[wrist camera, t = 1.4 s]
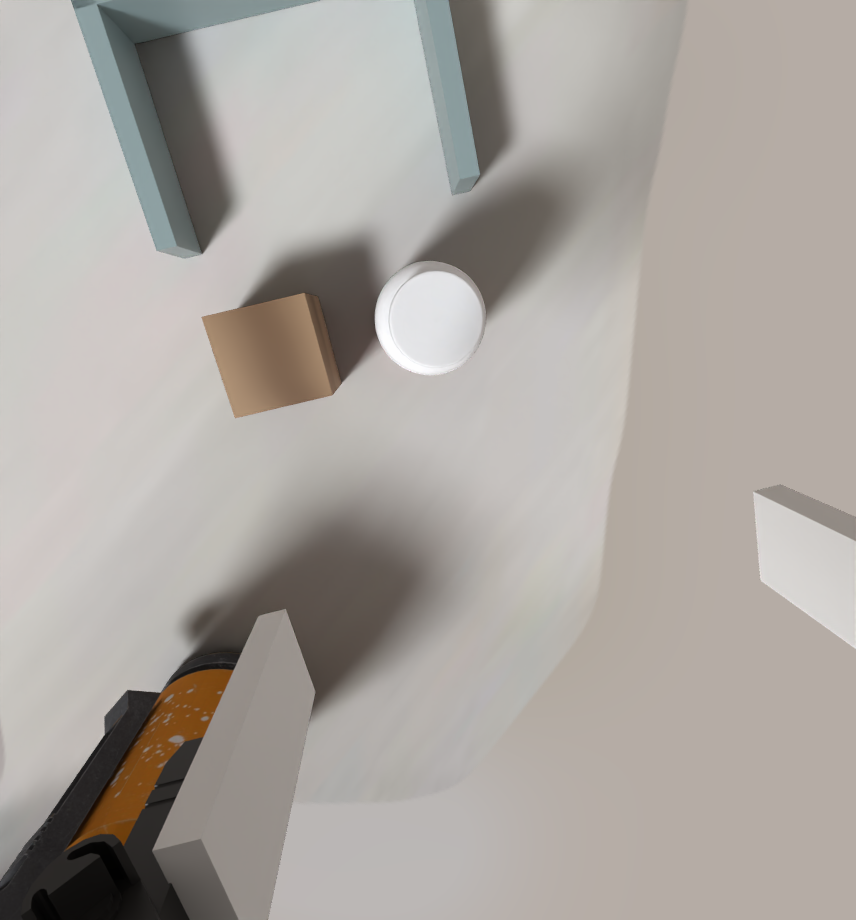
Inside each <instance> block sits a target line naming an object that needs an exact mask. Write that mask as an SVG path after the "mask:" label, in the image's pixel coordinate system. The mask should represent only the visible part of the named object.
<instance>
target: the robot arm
mask: <svg viewBox="0 0 856 920" xmlns="http://www.w3.org/2000/svg"><path fill="white" fill-rule="evenodd" d="M753 495H754V507H755V520H756V532H757V544H758V556H759V569H760V580H761V581H762V582H763V583H765V584H766V585H767V586H769V587H770V588H772V589H773V590H774V591H776V592H777V593H779V594H780V595H782V596H783V597H784V598H786V599H787V600H789V601H790V602H791V603H793V604H794V605H795V606H797V607H798V608H800V609H801V610H803V611H804V612H805V613H807V614H808V615H809V616H811V617H812V618H814V619H815V620H816V621H818V622H819V623H821V624H822V625H823V626H825V627H826V628H827V629H829V630H830V631H832V632H833V633H834V634H836V635H837V636H839V637H840V638H841V639H843V640H844V641H845V642H847V643H848V644H850V645H851V646H852V647H854V648H855V649H856V517H855V516H852V515H850V514H847V513H845V512H843V511H841V510H838V509H836V508H834V507H831V506H829V505H827V504H824V503H822V502H820V501H818V500H815V499H813V498H811V497H808V496H806V495H804V494H801V493H799V492H797V491H795V490H792V489H790V488H787V487H785V486H783V485H777V486H773V487H769V488H765V489H761V490H757V491H753ZM314 697H315V689H314V687H313V684H312V681H311V678H310V675H309V673H308V670H307V667H306V664H305V661H304V659H303V656H302V653H301V650H300V647H299V644H298V642H297V639H296V636H295V633H294V630H293V628H292V625H291V622H290V619H289V616H288V614H287V611H286V609H283V610H279V611H275V612H271V613H267V614H263V615H259V616H258V618H257V620H256V622H255V625H254V627H253V629H252V631H251V633H250V636H249V638H248V640H247V642H246V644H245V647H244V649H243V651H242V653H241V655H240V658H239V660H238V662H237V664H236V667H235V669H234V671H233V673H232V675H231V678H230V680H229V682H228V684H227V686H226V689H225V691H224V693H223V695H222V697H221V700H220V702H219V704H218V706H217V708H216V711H215V713H214V715H213V717H212V720H211V722H210V724H209V726H208V728H207V731H206V733H205V735H204V737H201V738H197V739H193V740H189V741H185V742H184V743H183V744H182V745H181V747H180V748H179V749H178V750H177V751H176V752H175V753H174V754H173V756H172V757H171V758H170V759H169V760H168V761H167V762H166V764H165V766H164V768H163V770H162V772H161V774H160V775H159V777H158V779H157V781H156V783H155V785H154V786H155V789H154V790H152V791H151V793H150V795H149V797H148V799H147V801H146V803H145V809H142V811H141V813H140V815H139V817H138V819H137V821H136V822H135V824H134V826H133V828H132V830H131V832H130V834H129V836H128V838H127V840H126V842H125V844H124V846H123V844H122V843H121V841H120V840H119V839H118V838H117V837H116V836H115V835H113V834H99V835H96V836H93V837H90V838H87V839H84V840H82V841H81V842H79V843H77V844H76V845H74V846H72V847H71V848H69V849H67V850H66V851H64V852H63V853H62V854H61V855H60V856H58V857H57V858H56V859H55V860H54V861H53V862H51V863H50V864H49V865H48V866H47V867H46V868H45V869H44V871H43V872H42V873H41V874H40V875H39V876H38V878H37V879H36V880H35V881H34V882H33V883H32V885H31V887H30V889H29V891H28V893H27V894H26V896H25V898H24V900H23V903H22V910H21V917H22V919H23V920H268V917H269V912H270V908H271V903H272V898H273V893H274V888H275V883H276V879H277V874H278V869H279V864H280V860H281V855H282V850H283V845H284V840H285V836H286V831H287V826H288V821H289V816H290V811H291V807H292V802H293V797H294V793H295V788H296V783H297V778H298V773H299V769H300V764H301V759H302V754H303V749H304V745H305V740H306V735H307V730H308V725H309V721H310V716H311V711H312V706H313V701H314Z"/></svg>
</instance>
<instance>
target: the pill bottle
mask: <svg viewBox="0 0 856 920" xmlns="http://www.w3.org/2000/svg"><path fill="white" fill-rule="evenodd" d="M485 325H486V310H485V304H484V301H483V298H482V295H481V293H480V291H479V289H478V287H477V286H476V284H475V283H474V282H473V280H472V279H471V278H470V277H469V276H468V275H467V274H466V273H464V272H463V271H461V270H460V269H458V268H456V267H454V266H452V265H449V264H447V263H443V262H437V261H421V262H416V263H413V264H410V265H408V266H406V267H404V268H402V269H401V270H399V271H398V272H396V273H395V274H394V275H393V276H392V277H391V278H390V279H389V280H388V282H387V283H386V284H385V286H384V287H383V289H382V291H381V292H380V294H379V297H378V300H377V304H376V309H375V328H376V333H377V336H378V339H379V342H380V344H381V346H382V348H383V349H384V351H385V352H386V353H387V355H388V356H389V357H390V358H391V359H392V360H393V361H394V362H395V363H397V364H398V365H399V366H401V367H402V368H404V369H406V370H408V371H410V372H414V373H418V374H422V375H440V374H445V373H448V372H451V371H453V370H455V369H457V368H459V367H460V366H462V365H463V364H464V363H465V362H467V361H468V360H469V359H470V358H471V357H472V355H473V354H474V353H475V351H476V350H477V348H478V347H479V345H480V343H481V340H482V338H483V335H484V331H485Z"/></svg>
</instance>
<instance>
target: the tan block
mask: <svg viewBox="0 0 856 920" xmlns="http://www.w3.org/2000/svg"><path fill="white" fill-rule="evenodd" d="M202 320H203V323H204V326H205V329H206V332H207V335H208V338H209V341H210V344H211V347H212V350H213V353H214V356H215V359H216V362H217V365H218V368H219V371H220V374H221V377H222V380H223V383H224V386H225V389H226V392H227V395H228V398H229V401H230V404H231V407H232V411H233V414H234V417H235V418H238V417H242V416H246V415H251V414H255V413H259V412H263V411H268V410H272V409H276V408H280V407H284V406H289V405H293V404H297V403H301V402H306V401H310V400H314V399H318V398H323V397H327V396H331V395H333V394H334V393H335V391H336V390H337V389H338V387H339V386H340V385H341V379H340V375H339V372H338V368H337V364H336V361H335V357H334V353H333V350H332V346H331V342H330V338H329V335H328V331H327V327H326V324H325V320H324V316H323V313H322V309H321V305H320V302H319V298H318V296H314V295H310V294H307V293H302V294H297V295H293V296H289V297H285V298H280V299H276V300H272V301H268V302H263V303H259V304H255V305H251V306H246V307H242V308H238V309H234V310H229V311H225V312H221V313H217V314H212V315H208V316H204V317H202Z"/></svg>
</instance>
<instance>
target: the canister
mask: <svg viewBox="0 0 856 920" xmlns="http://www.w3.org/2000/svg"><path fill="white" fill-rule="evenodd" d="M240 655H241V653H232V652H222V653H213V654H207V655H204V656H201V657H198V658H196V659H193V660H191V661H189V662H188V663H186V664H185V665H183V666H182V667H180V668H179V669H178V670H177V671H176V672H175V673H174V674H173V675H172V676H171V678H170V679H169V681H168V682H167V683H166V685H165V687H164V688H163V690H162V692H161V693H156V692H144V691H131V690H127V691H126V692H125V693H124V695H123V696H122V697H121V698H120V699H119V700H118V702H117V703H116V704H115V705H114V706H113V707H112V709H111V710H110V711H109V712H108V713H107V714H106V716H105V735H104V737H103V738H102V740H101V741H100V743H99V744H98V745H97V747H96V748H95V750H94V751H93V753H92V754H91V756H90V757H89V758H88V760H87V761H86V763H85V764H84V766H83V767H82V769H81V770H80V772H79V773H78V774H77V776H76V777H75V779H74V780H73V782H72V783H71V785H70V786H69V788H68V789H67V790H66V792H65V793H64V795H63V796H62V798H61V799H60V801H59V802H58V804H57V805H56V806H55V808H54V809H53V811H52V812H51V814H50V815H49V817H48V818H47V819H46V821H45V822H44V824H43V825H42V826H41V827H40V828H39V829H38V831H37V832H36V833H35V834H34V835H33V836H32V838H31V839H30V840H29V841H28V842H27V843H26V844H25V846H24V847H23V850H22V851H21V852H20V853H19V854H18V856H17V857H16V860H15V861H14V862H13V863H12V865H11V866H10V867H9V870H8V871H7V872H6V873H5V875H4V876H3V878H2V880H1V881H0V920H23V919H22V917H21V910H22V903H23V900H24V898H25V896H26V894H27V893H28V891H29V889H30V887H31V885H32V883H33V882H34V881H35V880H36V879H37V878H38V876H39V875H40V874H41V873H42V872H43V871H44V869H45V868H46V867H47V866H48V865H49V864H50V863H51V862H53V861H54V860H55V859H56V858H57V857H58V856H60V855H61V854H62V853H63V852H64V851H66V850H67V849H69V848H71V847H72V846H74V845H76V844H77V843H79V842H81V841H82V840H84V839H87V838H90V837H93V836H96V835H99V834H113V835H115V836H116V837H117V838H118V839H119V840H120V841H121V843H122V844H123V846H124V844H125V842H126V840H127V838H128V836H129V834H130V832H131V830H132V828H133V826H134V824H135V822H136V821H137V819H138V817H139V815H140V813H141V811H142V809H145V803H146V801H147V799H148V797H149V795H150V793H151V791H152V790H154V789H155V786H154V785H155V783H156V781H157V779H158V777H159V775H160V774H161V772H162V770H163V768H164V766H165V764H166V762H167V761H168V760H169V759H170V758H171V757H172V756H173V754H174V753H175V752H176V751H177V750H178V749H179V748H180V747H181V745H182V744H183V743H184V742H185V741H189V740H193V739H197V738H201V737H204V735H205V733H206V731H207V728H208V726H209V724H210V722H211V720H212V717H213V715H214V713H215V711H216V708H217V706H218V704H219V702H220V700H221V697H222V695H223V693H224V691H225V689H226V686H227V684H228V682H229V680H230V678H231V675H232V673H233V671H234V669H235V667H236V664H237V662H238V660H239V658H240Z"/></svg>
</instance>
